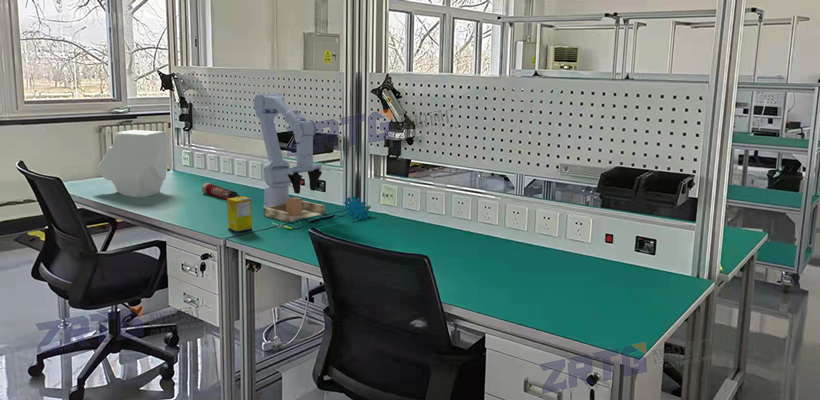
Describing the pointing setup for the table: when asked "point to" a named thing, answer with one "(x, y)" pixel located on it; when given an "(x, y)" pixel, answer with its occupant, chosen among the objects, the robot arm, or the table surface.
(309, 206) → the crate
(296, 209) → the block
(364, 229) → the table surface
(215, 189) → the red cylinder
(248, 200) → the supplement box
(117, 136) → the white low-poly rock
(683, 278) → the table surface
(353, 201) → the gear
